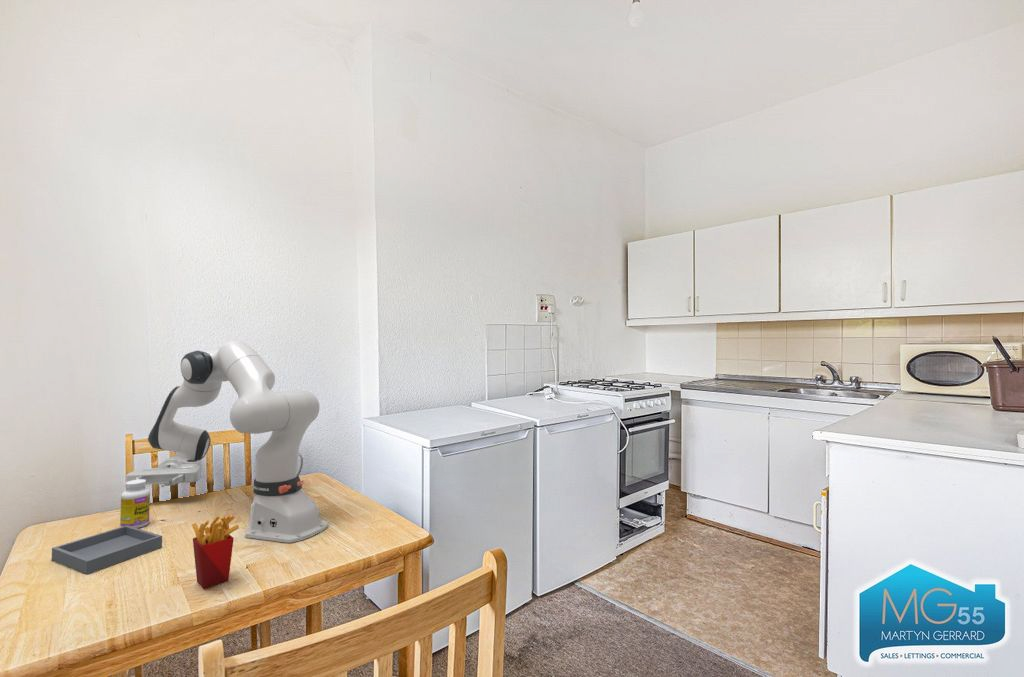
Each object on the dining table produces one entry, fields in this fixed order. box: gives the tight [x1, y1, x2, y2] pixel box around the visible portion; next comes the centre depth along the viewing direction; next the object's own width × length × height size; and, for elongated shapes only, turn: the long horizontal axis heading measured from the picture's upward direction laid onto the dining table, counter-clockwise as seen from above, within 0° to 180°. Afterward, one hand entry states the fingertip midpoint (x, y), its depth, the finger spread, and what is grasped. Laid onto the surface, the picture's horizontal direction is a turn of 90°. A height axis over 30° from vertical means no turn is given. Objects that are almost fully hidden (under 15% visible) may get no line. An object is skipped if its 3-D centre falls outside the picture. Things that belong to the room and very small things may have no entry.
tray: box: [51, 525, 163, 575], centre depth 121 cm, size 16×16×3 cm
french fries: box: [191, 514, 240, 590], centre depth 107 cm, size 9×8×15 cm
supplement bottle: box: [119, 479, 151, 529], centre depth 138 cm, size 7×7×13 cm
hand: (154, 483), depth 150 cm, fingers open, 8 cm apart
